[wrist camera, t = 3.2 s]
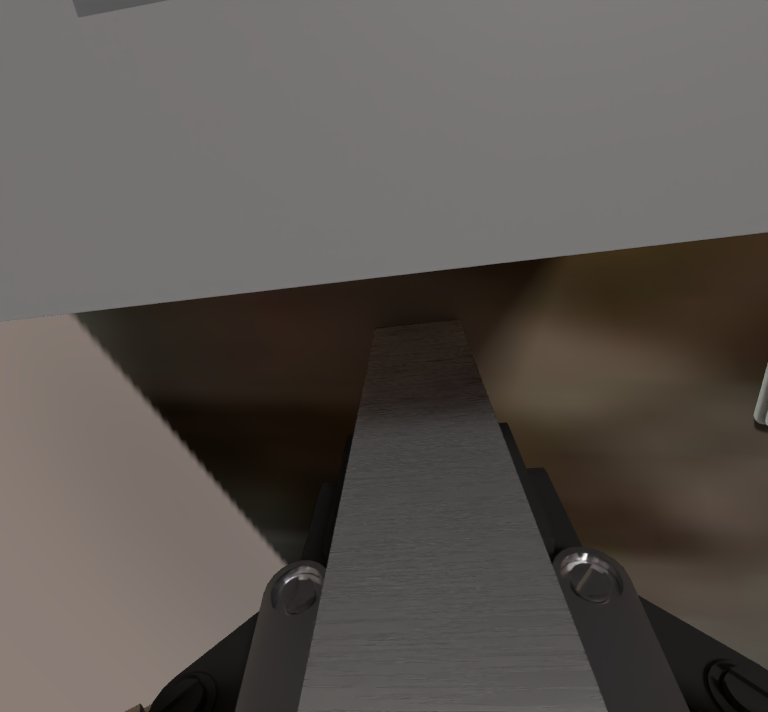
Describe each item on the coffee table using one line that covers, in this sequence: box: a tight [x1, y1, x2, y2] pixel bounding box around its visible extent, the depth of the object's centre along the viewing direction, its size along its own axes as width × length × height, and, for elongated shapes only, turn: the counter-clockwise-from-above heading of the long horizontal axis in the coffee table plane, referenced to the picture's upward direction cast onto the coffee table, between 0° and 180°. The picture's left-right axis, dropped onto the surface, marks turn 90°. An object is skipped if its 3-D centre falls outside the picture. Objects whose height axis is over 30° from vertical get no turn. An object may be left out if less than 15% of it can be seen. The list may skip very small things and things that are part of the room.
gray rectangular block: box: [298, 320, 608, 712], centre depth 10 cm, size 6×3×12 cm, turn 7°
